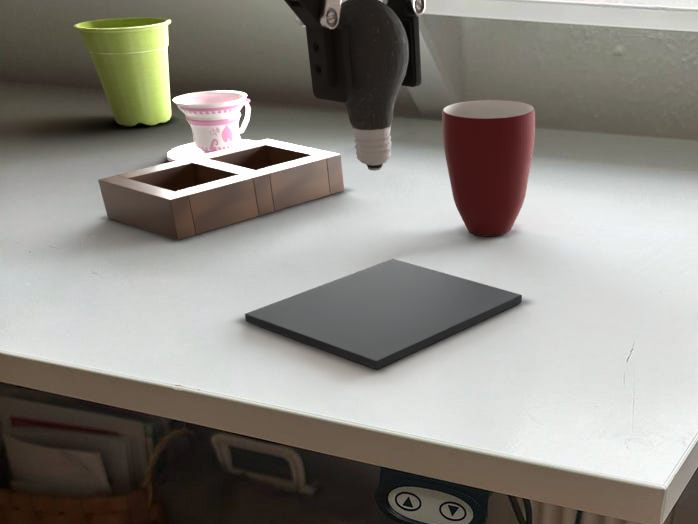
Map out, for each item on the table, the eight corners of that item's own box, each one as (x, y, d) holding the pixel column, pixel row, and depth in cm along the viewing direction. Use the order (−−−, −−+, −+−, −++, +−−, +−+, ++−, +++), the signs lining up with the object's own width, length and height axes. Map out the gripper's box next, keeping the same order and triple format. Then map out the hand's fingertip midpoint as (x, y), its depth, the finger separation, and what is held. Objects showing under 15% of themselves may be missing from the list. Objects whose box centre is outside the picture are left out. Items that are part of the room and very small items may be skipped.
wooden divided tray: (178, 240, 86) (169, 199, 84) (107, 218, 92) (97, 179, 90) (344, 190, 98) (340, 154, 96) (272, 173, 104) (267, 138, 102)
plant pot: (204, 113, 129) (186, 16, 122) (163, 133, 121) (141, 29, 113) (126, 110, 132) (105, 14, 124) (80, 129, 123) (54, 27, 115)
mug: (416, 220, 90) (410, 102, 84) (486, 206, 93) (485, 91, 87) (476, 249, 83) (474, 123, 77) (550, 232, 87) (553, 110, 80)
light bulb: (338, 182, 63) (320, 3, 57) (331, 161, 67) (313, -7, 61) (421, 176, 64) (412, -1, 58) (408, 156, 68) (399, -10, 62)
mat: (377, 369, 64) (376, 361, 64) (245, 321, 71) (244, 313, 71) (522, 302, 73) (522, 294, 73) (393, 265, 80) (392, 258, 80)
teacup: (200, 175, 104) (188, 112, 100) (149, 156, 111) (136, 97, 107) (291, 156, 110) (283, 96, 106) (237, 139, 117) (228, 82, 113)
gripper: (398, -272, 58) (415, 68, 69) (165, -295, 48) (230, 106, 59) (492, -283, 54) (493, 78, 66) (260, -310, 44) (309, 121, 56)
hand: (368, 88), depth 62 cm, fingers closed on light bulb, 5 cm apart
